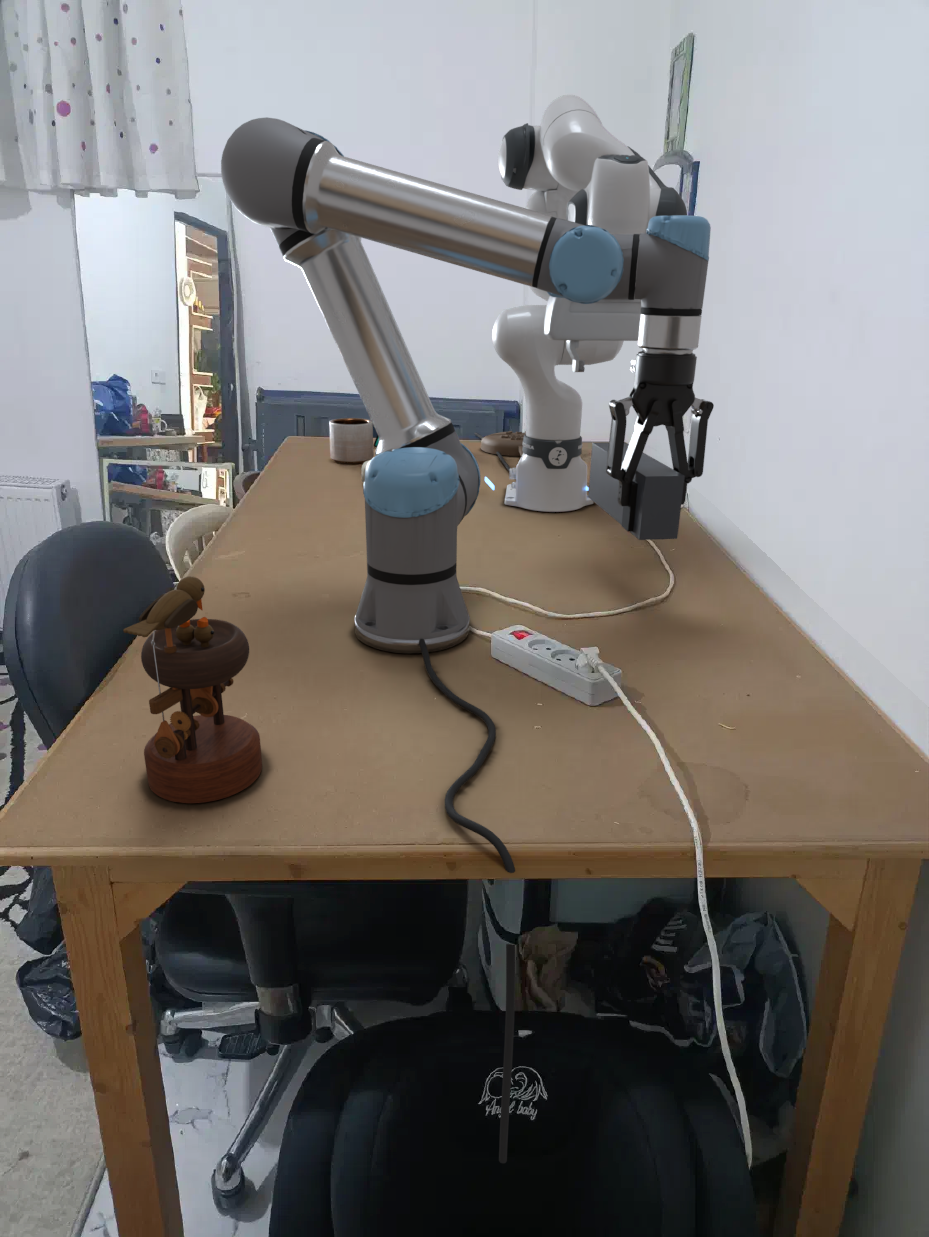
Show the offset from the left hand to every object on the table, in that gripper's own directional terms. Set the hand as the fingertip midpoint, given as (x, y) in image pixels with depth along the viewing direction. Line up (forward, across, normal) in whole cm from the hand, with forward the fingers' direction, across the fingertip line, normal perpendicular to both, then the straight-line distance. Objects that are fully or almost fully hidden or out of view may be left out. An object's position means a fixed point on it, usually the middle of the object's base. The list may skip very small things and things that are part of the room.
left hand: (648, 527), depth 116 cm
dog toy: (+13, +26, -83) cm, 87 cm away
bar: (0, 0, -8) cm, 8 cm away
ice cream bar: (+13, -8, -112) cm, 113 cm away
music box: (+13, +56, +34) cm, 66 cm away
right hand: (-18, 0, -24) cm, 30 cm away
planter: (+13, +37, -109) cm, 116 cm away
